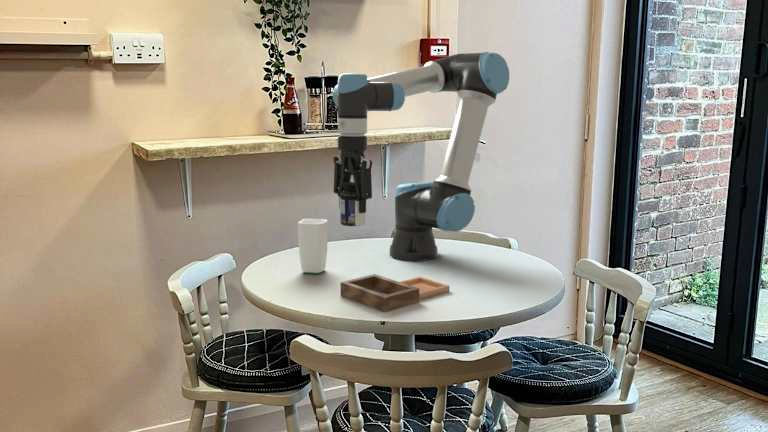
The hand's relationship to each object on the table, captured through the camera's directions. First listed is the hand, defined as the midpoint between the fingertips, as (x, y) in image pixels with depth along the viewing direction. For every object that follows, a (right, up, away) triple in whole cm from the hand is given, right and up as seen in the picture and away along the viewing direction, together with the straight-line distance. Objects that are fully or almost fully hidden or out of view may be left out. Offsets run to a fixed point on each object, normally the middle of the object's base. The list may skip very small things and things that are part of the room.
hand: (352, 222), depth 178 cm
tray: (+18, -18, -1) cm, 25 cm away
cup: (-12, -14, +16) cm, 25 cm away
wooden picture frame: (+7, -19, -8) cm, 22 cm away
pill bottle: (0, -1, 0) cm, 1 cm away
